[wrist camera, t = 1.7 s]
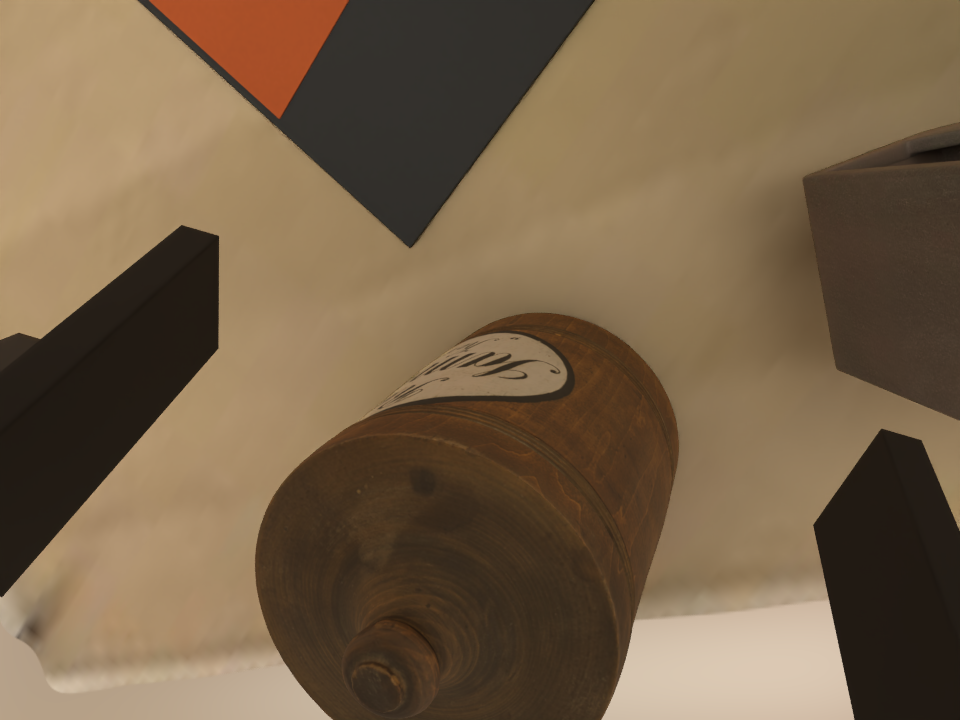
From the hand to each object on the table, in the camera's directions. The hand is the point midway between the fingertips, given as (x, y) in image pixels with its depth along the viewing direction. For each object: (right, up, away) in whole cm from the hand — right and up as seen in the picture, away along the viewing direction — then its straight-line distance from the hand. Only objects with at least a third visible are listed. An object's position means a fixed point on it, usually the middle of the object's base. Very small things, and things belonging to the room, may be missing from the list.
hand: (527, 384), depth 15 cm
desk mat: (-7, +21, +25) cm, 33 cm away
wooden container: (+3, -4, +29) cm, 30 cm away
